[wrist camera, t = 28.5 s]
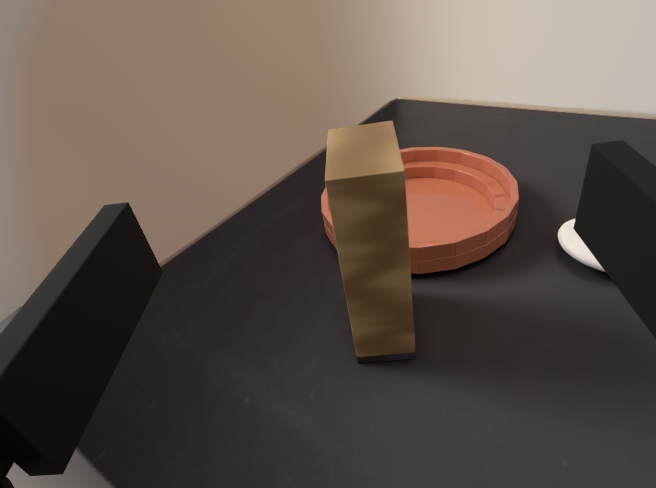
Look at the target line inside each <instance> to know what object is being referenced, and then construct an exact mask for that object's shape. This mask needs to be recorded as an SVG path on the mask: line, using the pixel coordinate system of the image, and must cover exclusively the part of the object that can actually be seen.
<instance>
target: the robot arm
mask: <svg viewBox="0 0 656 488" xmlns="http://www.w3.org/2000/svg"><path fill="white" fill-rule="evenodd" d="M573 229H574V230H575V231H576V233H577V234H578V235H579V237H580V238H581V239H582V241H583V242H584V244H585V245H586V246H587V248H588V249H589V250H590V252H591V253H592V254H593V256H594V257H595V258H596V260H597V261H598V262H599V264H600V265H601V266H602V268H603V269H604V270H605V272H606V273H607V274H608V276H609V277H610V278H611V280H612V281H613V282H614V284H615V285H616V286H617V288H618V289H619V290H620V292H621V293H622V294H623V296H624V297H625V298H626V300H627V301H628V302H629V304H630V305H631V307H632V308H633V309H634V311H635V312H636V313H637V315H638V316H639V317H640V319H641V320H642V321H643V323H644V324H645V325H646V327H647V328H648V329H649V331H650V332H651V333H652V335H653V336H654V337H655V339H656V167H655V166H654V165H653V164H652V163H650V162H649V161H648V160H647V159H645V158H644V157H643V156H641V155H640V154H639V153H638V152H636V151H635V150H634V149H633V148H631V147H630V146H629V145H628V144H626V143H625V142H624V141H623V140H622V141H614V142H606V143H598V144H592V147H591V151H590V156H589V160H588V165H587V169H586V174H585V178H584V183H583V187H582V192H581V196H580V201H579V205H578V210H577V214H576V219H575V223H574V228H573ZM162 273H163V272H162V270H161V268H160V266H159V264H158V261H157V260H156V257H155V255H154V253H153V251H152V249H151V247H150V245H149V243H148V241H147V239H146V237H145V235H144V233H143V231H142V229H141V227H140V225H139V223H138V221H137V219H136V217H135V215H134V213H133V211H132V209H131V207H130V205H129V203H120V204H112V205H104V206H103V208H102V209H101V210H100V211H99V213H98V214H97V215H96V216H95V218H94V219H93V220H92V221H91V222H90V224H89V225H88V227H86V229H85V230H84V231H83V233H82V234H81V235H80V236H79V237H78V239H77V240H76V241H75V242H74V243H73V245H72V246H71V247H70V248H69V250H68V251H67V252H66V253H65V255H64V256H63V257H62V258H61V259H60V261H59V262H58V263H57V264H56V266H55V267H54V268H53V269H52V271H51V272H50V273H49V274H48V276H47V277H46V278H45V279H44V280H43V282H42V283H41V284H40V285H39V287H38V288H37V289H36V290H35V292H34V293H33V294H32V295H31V297H30V298H29V299H28V300H27V301H26V303H25V304H24V305H23V306H22V307H19V308H18V309H17V310H16V311H14V312H13V313H12V314H11V315H9V316H8V317H7V318H6V319H4V320H3V321H2V322H1V323H0V488H14V487H13V485H12V483H11V481H10V480H9V479H8V478H7V477H6V475H7V473H8V472H9V470H10V468H11V466H12V465H13V463H14V462H15V463H16V464H17V465H18V466H19V467H20V468H21V469H23V470H24V471H25V472H26V473H27V474H28V475H30V476H39V475H57V474H63V473H64V471H65V469H66V467H67V464H68V463H69V461H70V459H71V457H72V455H73V453H74V451H75V449H76V447H77V445H78V443H79V441H80V438H81V436H82V434H83V432H84V430H85V428H86V426H87V424H88V422H89V420H90V418H91V416H92V414H93V412H94V410H95V408H96V406H97V404H98V402H99V400H100V398H101V396H102V394H103V392H104V390H105V388H106V386H107V384H108V382H109V380H110V378H111V376H112V374H113V372H114V370H115V368H116V366H117V364H118V362H119V360H120V358H121V356H122V354H123V352H124V350H125V348H126V346H127V344H128V342H129V340H130V338H131V335H132V333H133V331H134V329H135V327H136V325H137V323H138V321H139V319H140V317H141V315H142V313H143V311H144V309H145V307H146V305H147V303H148V301H149V299H150V297H151V295H152V293H153V291H154V289H155V287H156V285H157V283H158V281H159V279H160V277H161V275H162Z"/></svg>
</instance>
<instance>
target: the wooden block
mask: <svg viewBox="0 0 656 488" xmlns="http://www.w3.org/2000/svg"><path fill="white" fill-rule="evenodd" d="M325 185H326V190H327V196H328V201H329V207H330V212H331V218H332V223H333V229H334V235H335V240H336V246H337V251H338V257H339V262H340V268H341V273H342V279H343V284H344V290H345V295H346V301H347V306H348V312H349V317H350V323H351V328H352V334H353V340H354V345H355V351H356V356H357V362H358V363H367V362H379V361H392V360H405V359H415V358H416V353H415V336H414V319H413V302H412V284H411V267H410V250H409V233H408V216H407V199H406V182H405V170H404V165H403V161H402V157H401V153H400V149H399V145H398V141H397V137H396V133H395V129H394V125H393V121H386V122H379V123H372V124H365V125H358V126H351V127H343V128H336V129H329V130H328V141H327V156H326V171H325Z"/></svg>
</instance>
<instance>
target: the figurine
mask: <svg viewBox="0 0 656 488" xmlns="http://www.w3.org/2000/svg"><path fill="white" fill-rule="evenodd" d="M574 223H575V219H572V220H570V221H567V222H566V223H564V224H563V225H562V226H561V227H560V229H559V231H558V240H559V243H560V245H561V246H562V248H563V249H564V250H565V251H566V252H567V253H568V254H569V255H570V256H572V257H573V258H574V259H576V260H578V261H579V262H581V263H583V264H585V265H587V266H589V267H592V268H594V269H597V270H600V271H603V272H605V270H604V269H603V268H602V266H601V265H600V264H599V262H598V261H597V260H596V258H595V257H594V256H593V254H592V253H591V252H590V250H589V249H588V248H587V246H586V245H585V244H584V242H583V241H582V239H581V238H580V237H579V235H578V234H577V233H576V231H575V230H574V229H573V228H574Z"/></svg>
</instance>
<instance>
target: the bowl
mask: <svg viewBox="0 0 656 488" xmlns="http://www.w3.org/2000/svg"><path fill="white" fill-rule="evenodd" d="M400 153H401V157H402V161H403V165H404V170H405V182H406V199H407V216H408V233H409V250H410V267H411V273H412V274H424V273H432V272H439V271H446V270H453V269H457V268H459V267H462V266H465V265H467V264H470V263H473V262H475V261H478V260H481V259H483V258H485V257H487V256H488V255H489V254H491V253H492V252H493V251H495V250H496V249H497V248H499V247H500V246H501V245H503V244H504V243H505V242H506V241H507V240H508V238H509V236H510V234H511V232H512V230H513V229H514V227H515V225H516V220H517V210H518V203H519V193H518V182H517V181H516V179H515V178H514V177H513V176H512V174H511V173H510V172H509V171H508V169H507V168H506V167H504V166H502V165H501V164H499V163H497V162H496V161H494V160H492V159H490V158H489V157H486V156H483V155H480V154H476V153H473V152H469V151H466V150H460V149H452V148H444V147H418V148H407V149H401V150H400ZM321 204H322V215H323V220H324V225H325V230H326V235H327V236H328V238H329V239H330V241H331V242H332V244H333V245H334V247H335V248H336V250H337V246H336V240H335V235H334V229H333V223H332V218H331V212H330V207H329V201H328V196H327V190H326V188H325V190H324V192H323V194H322V195H321Z"/></svg>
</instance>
